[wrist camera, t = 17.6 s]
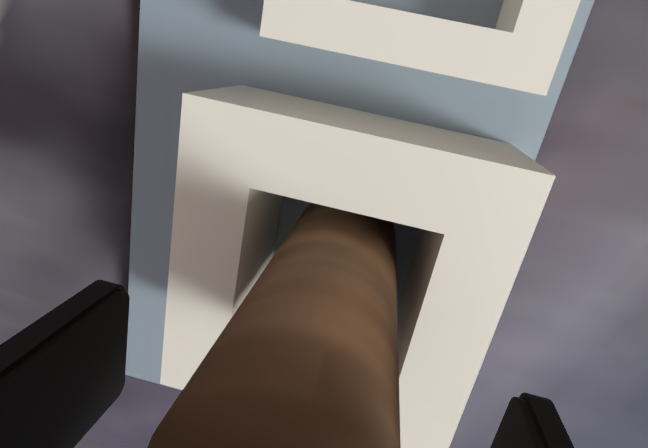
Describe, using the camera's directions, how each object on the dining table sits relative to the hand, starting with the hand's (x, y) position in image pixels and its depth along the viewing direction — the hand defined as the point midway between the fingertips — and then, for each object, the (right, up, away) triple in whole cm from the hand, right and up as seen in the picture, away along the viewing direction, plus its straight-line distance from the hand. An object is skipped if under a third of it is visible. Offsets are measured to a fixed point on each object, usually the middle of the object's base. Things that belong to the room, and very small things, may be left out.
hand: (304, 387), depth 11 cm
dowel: (+1, +3, +8) cm, 8 cm away
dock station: (+1, +7, +8) cm, 10 cm away
